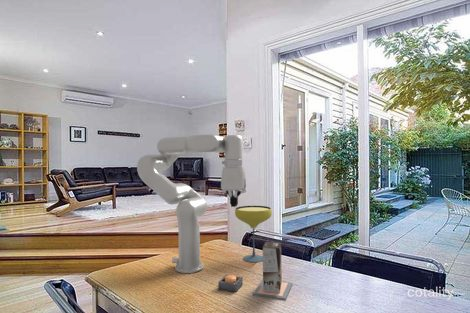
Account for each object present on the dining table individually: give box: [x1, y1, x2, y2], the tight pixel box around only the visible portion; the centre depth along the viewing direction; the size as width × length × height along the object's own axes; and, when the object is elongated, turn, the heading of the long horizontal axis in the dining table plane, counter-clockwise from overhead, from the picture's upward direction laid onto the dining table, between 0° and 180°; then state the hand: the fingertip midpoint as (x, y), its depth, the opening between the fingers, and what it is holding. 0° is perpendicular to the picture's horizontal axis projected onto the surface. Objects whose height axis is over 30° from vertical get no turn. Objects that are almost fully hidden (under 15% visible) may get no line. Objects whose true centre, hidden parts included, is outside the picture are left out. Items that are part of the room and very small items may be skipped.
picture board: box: [252, 278, 293, 301], centre depth 112 cm, size 12×14×1 cm
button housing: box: [217, 274, 243, 293], centre depth 115 cm, size 7×7×3 cm
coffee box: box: [262, 241, 283, 293], centre depth 113 cm, size 9×6×16 cm
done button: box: [225, 274, 236, 283], centre depth 115 cm, size 4×4×3 cm
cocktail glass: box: [234, 205, 273, 263], centre depth 148 cm, size 18×18×25 cm
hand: (234, 206), depth 129 cm, fingers closed
